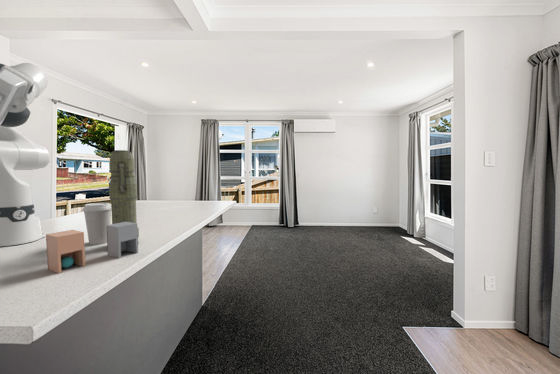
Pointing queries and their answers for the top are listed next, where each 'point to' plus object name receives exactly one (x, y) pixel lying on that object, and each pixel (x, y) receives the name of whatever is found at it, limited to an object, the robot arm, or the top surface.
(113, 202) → the thermos
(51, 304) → the top surface
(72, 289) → the top surface
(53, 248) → the tan block
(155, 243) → the top surface
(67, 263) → the teal ball
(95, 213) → the coffee cup
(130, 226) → the light gray boxy block
